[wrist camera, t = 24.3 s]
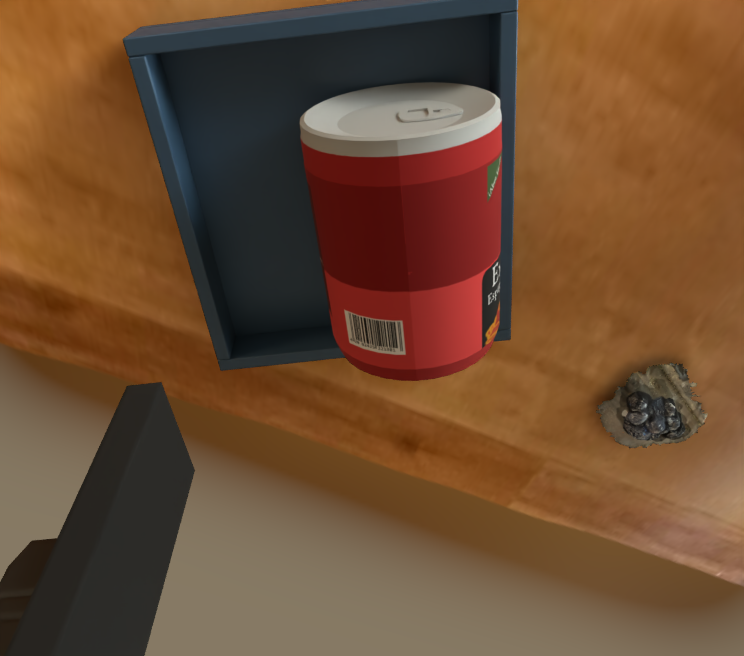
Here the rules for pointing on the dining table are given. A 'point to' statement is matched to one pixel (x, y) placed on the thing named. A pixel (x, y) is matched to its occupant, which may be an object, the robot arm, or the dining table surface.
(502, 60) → the tray
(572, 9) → the dining table surface
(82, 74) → the dining table surface
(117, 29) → the dining table surface
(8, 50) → the dining table surface
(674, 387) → the grey mineral rock
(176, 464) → the robot arm
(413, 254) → the canned food
